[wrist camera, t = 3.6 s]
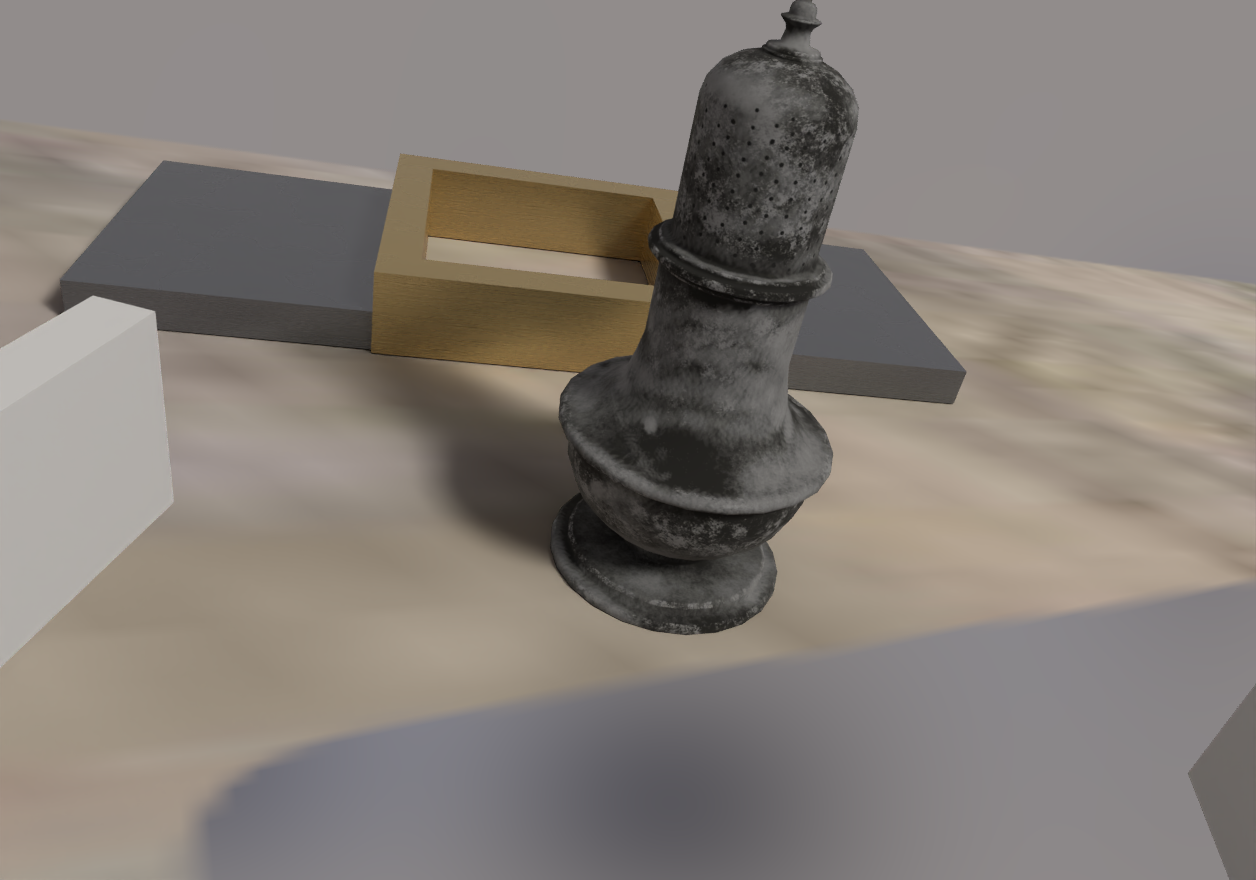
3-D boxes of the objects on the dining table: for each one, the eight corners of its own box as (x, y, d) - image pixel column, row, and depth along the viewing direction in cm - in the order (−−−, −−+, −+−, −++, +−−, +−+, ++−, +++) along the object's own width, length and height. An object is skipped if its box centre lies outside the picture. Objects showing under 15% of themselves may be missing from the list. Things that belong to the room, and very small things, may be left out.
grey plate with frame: (63, 323, 26) (49, 236, 24) (167, 192, 34) (161, 121, 33) (955, 407, 31) (984, 338, 30) (852, 274, 39) (871, 217, 38)
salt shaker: (715, 466, 25) (851, -22, 19) (837, 620, 21) (1066, 55, 15) (504, 489, 23) (579, -64, 17) (593, 668, 19) (741, 13, 12)
